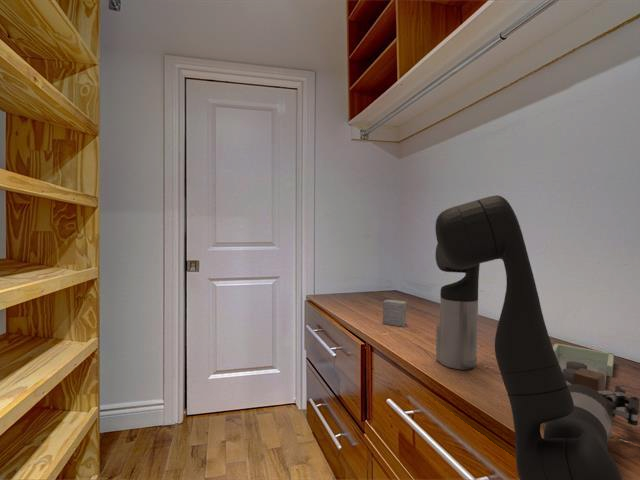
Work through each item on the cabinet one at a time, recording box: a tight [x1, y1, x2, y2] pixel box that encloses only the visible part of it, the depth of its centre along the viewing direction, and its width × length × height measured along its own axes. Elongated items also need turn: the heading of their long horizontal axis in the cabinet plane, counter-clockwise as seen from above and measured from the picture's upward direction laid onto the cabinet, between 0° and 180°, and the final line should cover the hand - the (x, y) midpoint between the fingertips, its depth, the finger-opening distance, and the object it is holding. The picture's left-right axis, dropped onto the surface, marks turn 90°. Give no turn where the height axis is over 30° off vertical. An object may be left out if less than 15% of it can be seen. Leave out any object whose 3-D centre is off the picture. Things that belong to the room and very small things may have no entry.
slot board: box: [557, 354, 608, 386], centre depth 85 cm, size 34×11×2 cm, turn 139°
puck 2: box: [563, 368, 577, 384], centre depth 80 cm, size 4×4×3 cm
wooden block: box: [574, 368, 606, 391], centre depth 68 cm, size 4×4×8 cm
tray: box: [552, 342, 615, 378], centre depth 93 cm, size 12×13×2 cm
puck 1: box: [566, 361, 587, 370], centre depth 84 cm, size 4×4×3 cm
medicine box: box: [382, 299, 408, 328], centre depth 132 cm, size 8×4×9 cm, turn 59°
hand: (588, 384), depth 67 cm, fingers open, 8 cm apart
